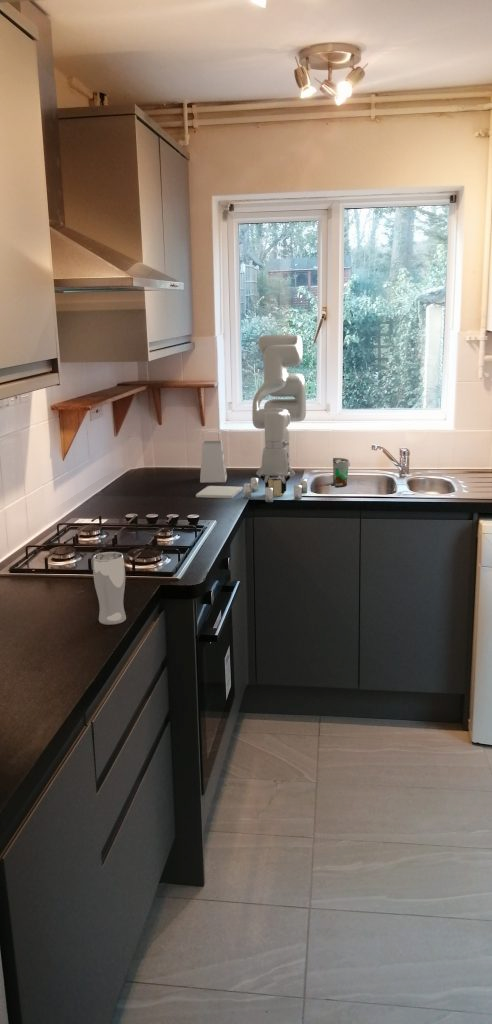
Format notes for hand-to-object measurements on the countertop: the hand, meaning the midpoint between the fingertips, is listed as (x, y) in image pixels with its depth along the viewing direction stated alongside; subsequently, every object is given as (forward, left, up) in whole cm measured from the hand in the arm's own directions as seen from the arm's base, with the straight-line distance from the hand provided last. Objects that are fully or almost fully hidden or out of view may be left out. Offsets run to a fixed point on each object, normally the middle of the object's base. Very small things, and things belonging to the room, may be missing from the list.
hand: (275, 492), depth 306 cm
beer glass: (+133, -8, -1) cm, 133 cm away
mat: (0, -22, -1) cm, 22 cm away
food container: (-21, +22, -1) cm, 30 cm away
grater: (-25, -32, -1) cm, 41 cm away
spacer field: (0, 0, -1) cm, 1 cm away
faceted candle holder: (0, 0, -1) cm, 1 cm away
